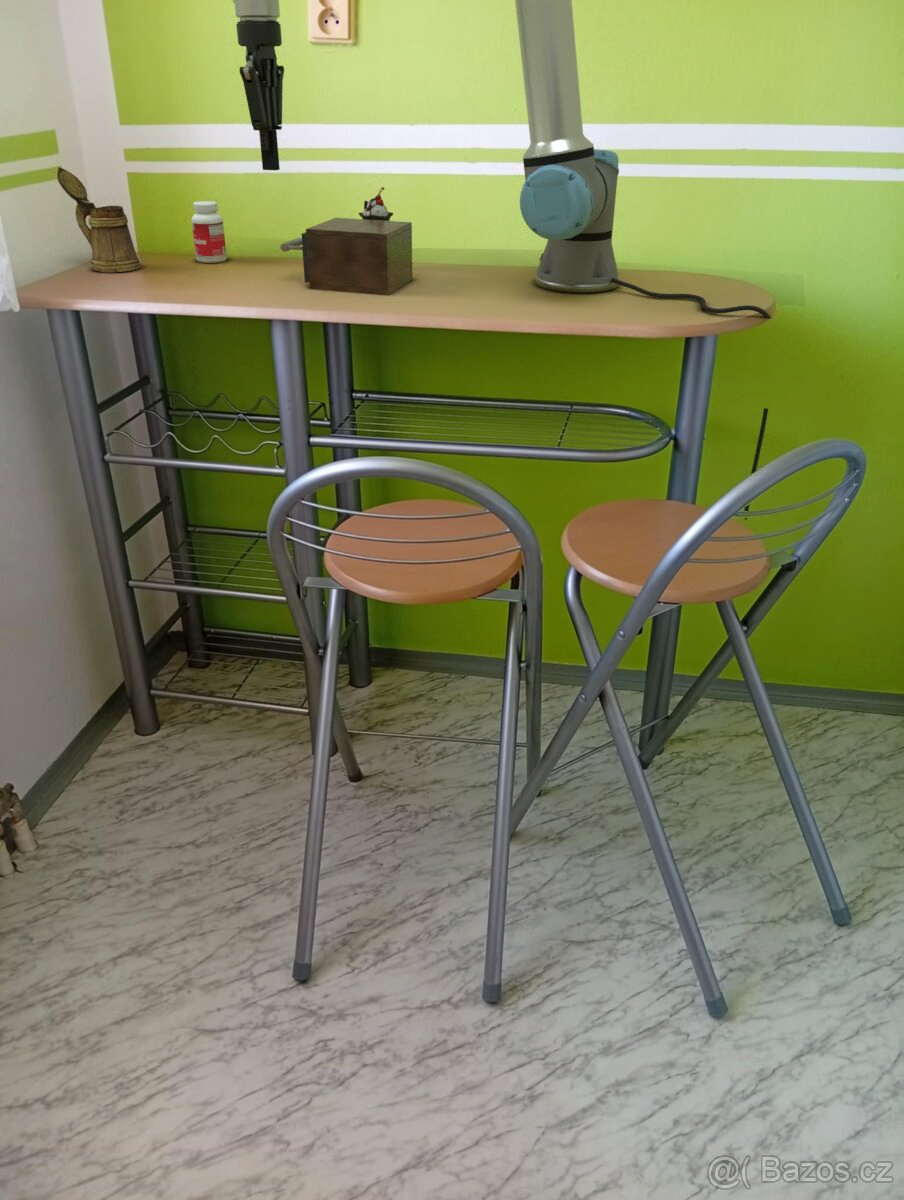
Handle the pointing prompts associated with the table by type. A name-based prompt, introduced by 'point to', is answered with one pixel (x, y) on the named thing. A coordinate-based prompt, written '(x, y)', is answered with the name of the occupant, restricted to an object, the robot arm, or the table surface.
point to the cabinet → (359, 255)
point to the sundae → (375, 209)
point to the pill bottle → (208, 233)
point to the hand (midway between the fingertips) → (271, 169)
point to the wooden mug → (102, 229)
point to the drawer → (296, 245)
